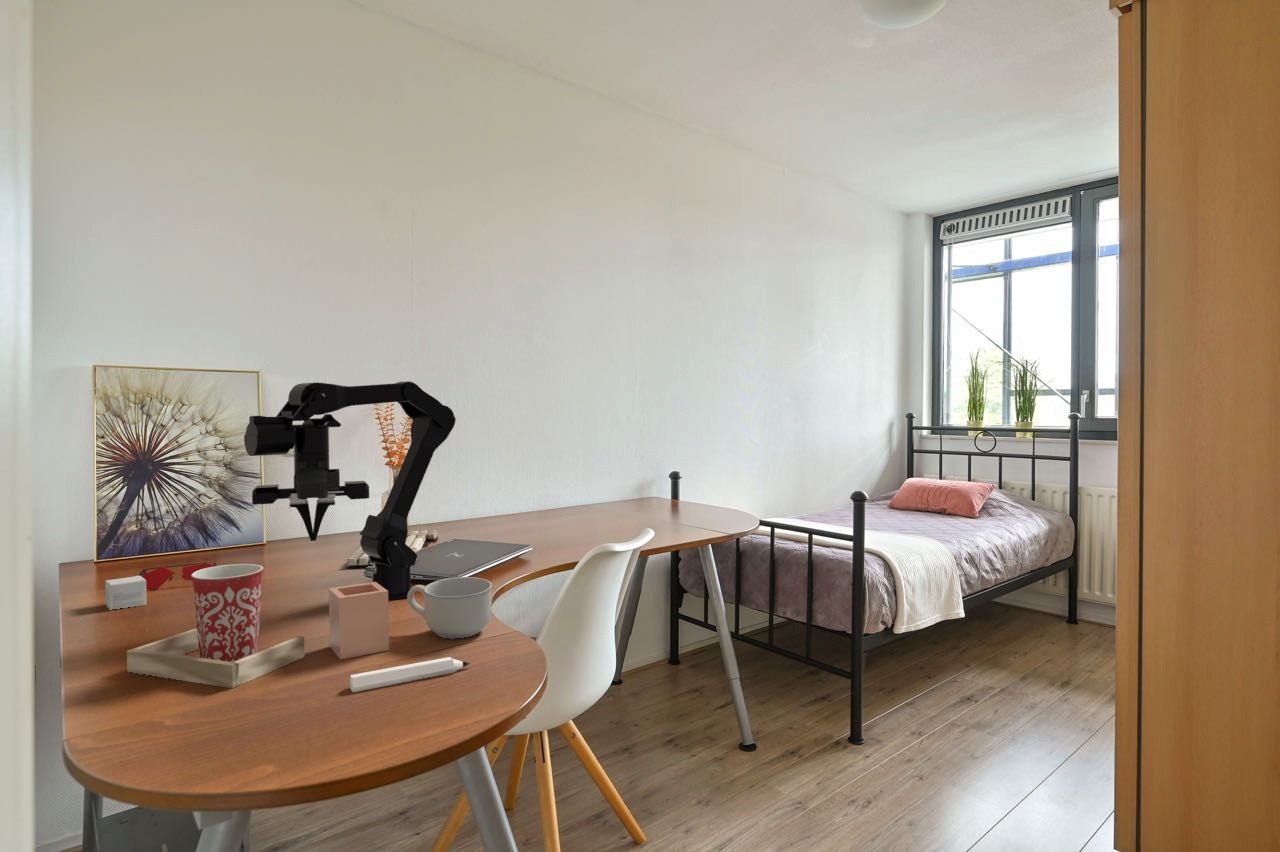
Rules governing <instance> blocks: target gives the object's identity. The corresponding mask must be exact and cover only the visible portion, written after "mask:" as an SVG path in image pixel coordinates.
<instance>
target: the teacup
mask: <svg viewBox="0 0 1280 852" xmlns="http://www.w3.org/2000/svg"><path fill="white" fill-rule="evenodd" d="M410 588H411V589H410V590H409V592H408V595H407V599H406V600H407V603H408V605H409V607H410V608H411V610H413V611H414V612H416V613H417V614H419V615H420V616H422V617H423V619H424V620H425V621H426V622H425V623H426V625H427V627H428V628H429V629H430V630H431V632H433V633H435V634H436V635H437V636H438V637H440V638H443V639H447V638H449V639H448V640H456V639H455V638H462V639H465V638H464V637H467V638H470V637H469V636H471V637H473V636H475V634H476V635H477V634H478V633H480V632H481V631H482V629H484V628H485V627H486V626H487V625H488V624H489V622H490V619H491V616H492V615H491V614H492V588H493V583H492V582H491V581H489V580H488V579H484V578H482V577H473V576H458V577H456V576H455V577H448V578H447V577H446V578H443V579H438V580H436V581H433V582H431V583H429V584H427V585H423V584H415V585H413V586H412V587H410ZM417 592H419V593H421V594H422V596H423V598H424V607H422V606H421V605H420V604H419V603H417V601H416V599H415V595H416V594H415V593H417ZM472 635H473V636H472Z"/></svg>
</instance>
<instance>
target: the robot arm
mask: <svg viewBox="0 0 1280 852" xmlns="http://www.w3.org/2000/svg"><path fill="white" fill-rule="evenodd" d="M287 399H288V400H287V401H286V403H285V404H284V405H283V407H282V408H281V409H280V411H279V412H278V414H277V415H276V416H264V415H249V417H248V418H249V420H248V421H249V422H248V424H247V426H246V428H245V434H244V435H243V440H244V442H243V443H244V447H245V451H246V453H247V455H248V456H250V457H256V456H257V457H259V456H281V455H287V454H288V453H289V451H290V450H293V463H294V464H293V469H294V470H293V474H294V475H293V487H289V488H288V487H287V488H286V487H285V488H284V487H283V488H280V487H279V486H280V485H279V484H264V485H263V484H260V485H256V486H255V487H254V488H253V489H252V491H251V492H252V493H251V497H252V498H251V502H252V505H255V506H256V505H271V504H274V503H275V502H276V501H277V500H285V499H288V501H289V508H296V510H297V512H298V513H299V515H300V517H301V518H302V520H303V523H304V526H305V529H306V531H307V534H308V536H309V539H310V540H309V541H311V542H313V541H317V537H318V536H319V535H318V533H319V531H320V527H321V525H322V521H323V518H324V516H325V515H326V512H327V510H328V509H329V507H330V506H335V505H336V500H335V499H336V497H342V496H343V497H344V496H345V497H347V498H348V499H350V500H360V499H361V500H364V499H365V500H366V499H370V485H369V484H368V482H366V481H365V480H354V481H353V480H352V481H344V485H340V483H341V482H340V481H341V480H340V474H341V473H340V469H339V468H330V434H329V433H330V432H329V431H330V428H340V427H341V426H342V423H341V422H339V420H337V419H336V418H334V416H333V415H332V414H331V413H333V412H336V411H340V410H342V409H345V408H348V407H351V406H364V405H377V404H385V403H387V404H389V403H396V402H397V403H398V404H399V405H400V407H401V408H402V411H403V412H404V414H406V416H408V418H410V419H411V420H412V421H411V425H410V441H411V442H410V445H409V447H408V450H407V452H406V454H405V457H404V459H403V462H402V464H401V467H400V469H399V471H398V473H397V476H396V478H395V481H394V483H393V486H392V487H391V490H390V492H389V494H388V496H387V497H388V498H387V499H386V502H385V504H384V506H383V509H381V511H380V512H378V514H377V515H372V514H368V515H367V517H366V521H365V525H364V526H363V529H362V530H361V531H360V532H359V536H361V539H360V541H359V542H360V543H359V545H360V546H361V547H362V549H363V551H364V552H365V554H367V555H368V556H369V559H370V562H371V563H376V564H375V568H374V571H372V572H371V582H377V583H378V584H379V585H381V586H382V587H383V588H385V589H386V590H387V591H388V600H396V599H406V598H407V595H408V592H409V590H410V589H411V588H412V587H411V567H412V566H415V564H416V562H415V561H416V558H417V554H416V553H415V552H414V551H413V550H412V549H411V548H409V547H408V546H407V545H406V544H405V543H406V539H407V535H408V532H409V527H408V517H409V513H410V511H411V509H412V506H413V504H414V502H415V499H416V496H417V495H418V492H419V489H420V488H421V485H422V482H423V480H424V478H425V475H426V472H427V470H428V468H429V465H430V463H431V461H432V458H433V455H434V453H435V452H436V450H437V449H438V448H439V447H440V446H441V445H442V444H443V443H444V442H445V441H446V440H447V439H448V437H449V435H450V434H451V433H452V430H453V429H454V427H455V424H456V422H457V421H456V420H457V419H456V416H455V414H454V411H453V410H452V408H450V407H449V406H448V405H445V404H443V403H442V402H440V401H439V400H438V399H437V398H435V397H434V396H432V395H431V394H429V393H428V392H425V391H424V390H423V389H422V388H421V387H420V386H419V385H418V384H416V383H415V382H413V381H409V380H408V381H397V382H395V383H382V384H368V385H367V384H365V385H352V386H351V385H350V386H349V385H348V386H347V385H341V384H340V385H339V384H334V383H328V382H327V383H326V382H303V383H297V384H296V385H294V386H293V387H292V389H290V391H289V393H288V398H287ZM321 415H323V416H322V417H320V418H317V417H316V418H312V417H314V416H321ZM293 422H302V424H293ZM309 499H316V504H315V513H314V520H313V524H312V517H311V511H310V506H309V505H310V504H309Z"/></svg>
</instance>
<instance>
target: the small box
mask: <svg viewBox="0 0 1280 852" xmlns="http://www.w3.org/2000/svg"><path fill="white" fill-rule="evenodd" d="M104 581H105V582H104V586H105V596H104V597H105V606H106V605H107V606H106V607H107V609H108V610H109V611H111V610H112V609H117V610H121V609H120V608H123V609H129V608H128V607H130V608H135V606H136V607H142V606H147V589H146V580H145V579H144V578H142V577H141V576H139V575H135V576H130V577H129V576H128V577H123V578H122V577H121V578H115V579H113V578H112V579H106V580H104ZM112 611H113V610H112Z"/></svg>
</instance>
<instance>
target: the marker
mask: <svg viewBox="0 0 1280 852" xmlns="http://www.w3.org/2000/svg"><path fill="white" fill-rule="evenodd" d="M471 664H472V662H468V661H462V660H458V659H454V658H452V657H451V656H448V657H444V658H443V657H442V658H438V659H431V660H426V661H425V660H424V661H421V662H415V663H410V664H409V663H408V664H404V665H398V666H393V667H392V666H391V667H388V668H382V669H376V670H370V671H365V672H361V673H355V674H350V677H349V686H350V687H349V688H350V690H351V692H352V693H357V692H358V693H359V692H362V691H367V690H372V689H376V688H382V687H388V686H392V685H393V684H394V685H398V683H399V684H403V682H404V683H408V682H412V681H413V680H414V681H418V679H419V680H423V679H422V678H424V679H429V678H428V677H430V678H434V677H433V676H435V677H440V676H444V675H450V674H453V673H456V672H457V671H459V670H461V669H463V668H465V667H467V666H469V665H471ZM439 675H440V676H439Z"/></svg>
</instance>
